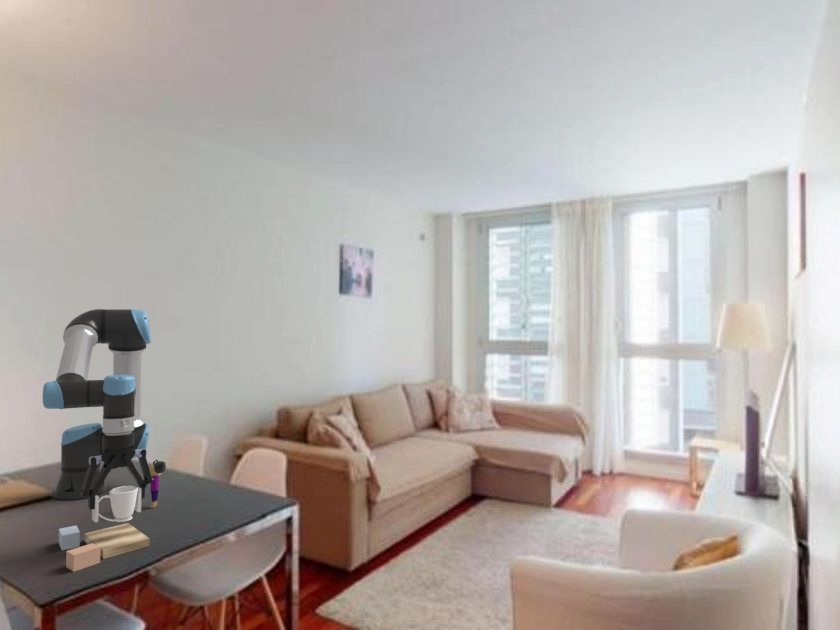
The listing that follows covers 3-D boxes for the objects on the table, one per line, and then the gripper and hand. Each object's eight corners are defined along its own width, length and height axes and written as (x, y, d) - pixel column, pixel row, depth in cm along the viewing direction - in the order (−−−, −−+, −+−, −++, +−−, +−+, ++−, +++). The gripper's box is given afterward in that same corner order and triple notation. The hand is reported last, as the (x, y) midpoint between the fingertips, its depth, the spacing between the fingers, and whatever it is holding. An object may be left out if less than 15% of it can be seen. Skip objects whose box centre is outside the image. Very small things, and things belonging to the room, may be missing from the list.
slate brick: (58, 543, 145) (59, 528, 145) (76, 540, 148) (76, 525, 148) (61, 551, 141) (62, 535, 141) (79, 547, 143) (80, 532, 143)
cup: (139, 520, 145) (140, 490, 145) (96, 528, 140) (97, 496, 140) (136, 512, 151) (136, 483, 151) (94, 519, 146) (95, 489, 146)
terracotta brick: (73, 572, 129) (74, 555, 129) (66, 567, 131) (66, 551, 131) (100, 563, 134) (100, 546, 134) (92, 559, 136) (92, 543, 136)
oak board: (84, 540, 147) (84, 533, 147) (127, 529, 155) (128, 522, 155) (103, 558, 136) (103, 550, 136) (149, 546, 144) (149, 538, 144)
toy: (155, 501, 179) (156, 456, 179) (172, 501, 180) (173, 456, 180) (141, 512, 169) (142, 464, 169) (159, 512, 169) (160, 464, 170)
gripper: (74, 441, 135) (73, 530, 135) (166, 428, 151) (165, 508, 151) (66, 436, 140) (64, 523, 140) (156, 425, 157) (154, 502, 156)
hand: (117, 515), depth 145 cm, fingers closed on cup, 10 cm apart
